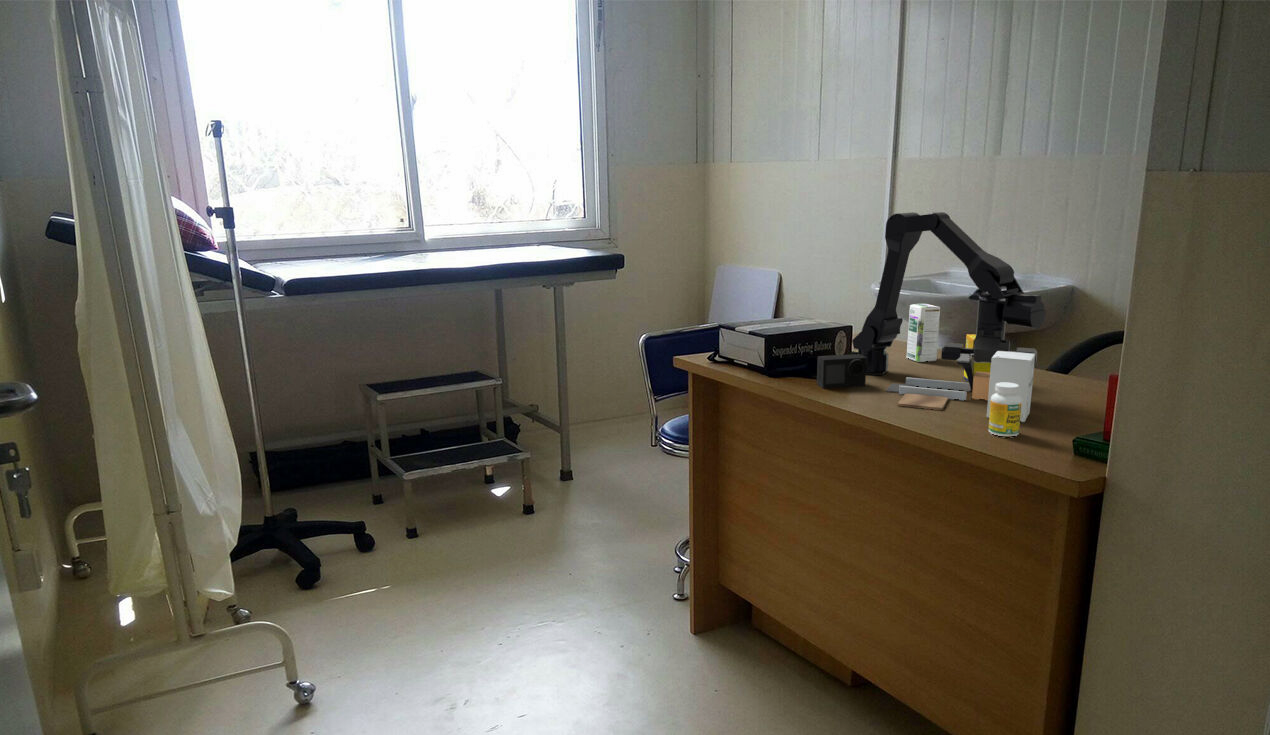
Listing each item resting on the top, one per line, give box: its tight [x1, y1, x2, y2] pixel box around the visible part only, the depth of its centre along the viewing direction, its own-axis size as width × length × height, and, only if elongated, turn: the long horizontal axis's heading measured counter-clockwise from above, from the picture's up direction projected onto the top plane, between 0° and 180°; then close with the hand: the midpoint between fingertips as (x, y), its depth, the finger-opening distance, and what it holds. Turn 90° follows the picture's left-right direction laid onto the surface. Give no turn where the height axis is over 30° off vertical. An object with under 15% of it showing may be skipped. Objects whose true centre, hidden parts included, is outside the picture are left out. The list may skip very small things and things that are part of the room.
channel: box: [898, 376, 971, 401], centre depth 185 cm, size 14×9×2 cm, turn 62°
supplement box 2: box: [986, 351, 1035, 423], centre depth 165 cm, size 7×7×13 cm
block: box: [971, 372, 990, 401], centre depth 180 cm, size 5×5×5 cm
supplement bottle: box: [988, 382, 1022, 437], centre depth 154 cm, size 5×5×10 cm
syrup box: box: [906, 303, 941, 363], centre depth 216 cm, size 6×6×14 cm
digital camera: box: [816, 353, 867, 389], centre depth 192 cm, size 10×5×7 cm, turn 98°
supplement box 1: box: [963, 333, 991, 383], centre depth 192 cm, size 6×6×11 cm
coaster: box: [897, 393, 949, 411], centre depth 177 cm, size 9×9×1 cm
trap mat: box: [885, 382, 915, 394], centre depth 189 cm, size 5×7×1 cm
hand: (985, 392), depth 180 cm, fingers closed on block, 5 cm apart
